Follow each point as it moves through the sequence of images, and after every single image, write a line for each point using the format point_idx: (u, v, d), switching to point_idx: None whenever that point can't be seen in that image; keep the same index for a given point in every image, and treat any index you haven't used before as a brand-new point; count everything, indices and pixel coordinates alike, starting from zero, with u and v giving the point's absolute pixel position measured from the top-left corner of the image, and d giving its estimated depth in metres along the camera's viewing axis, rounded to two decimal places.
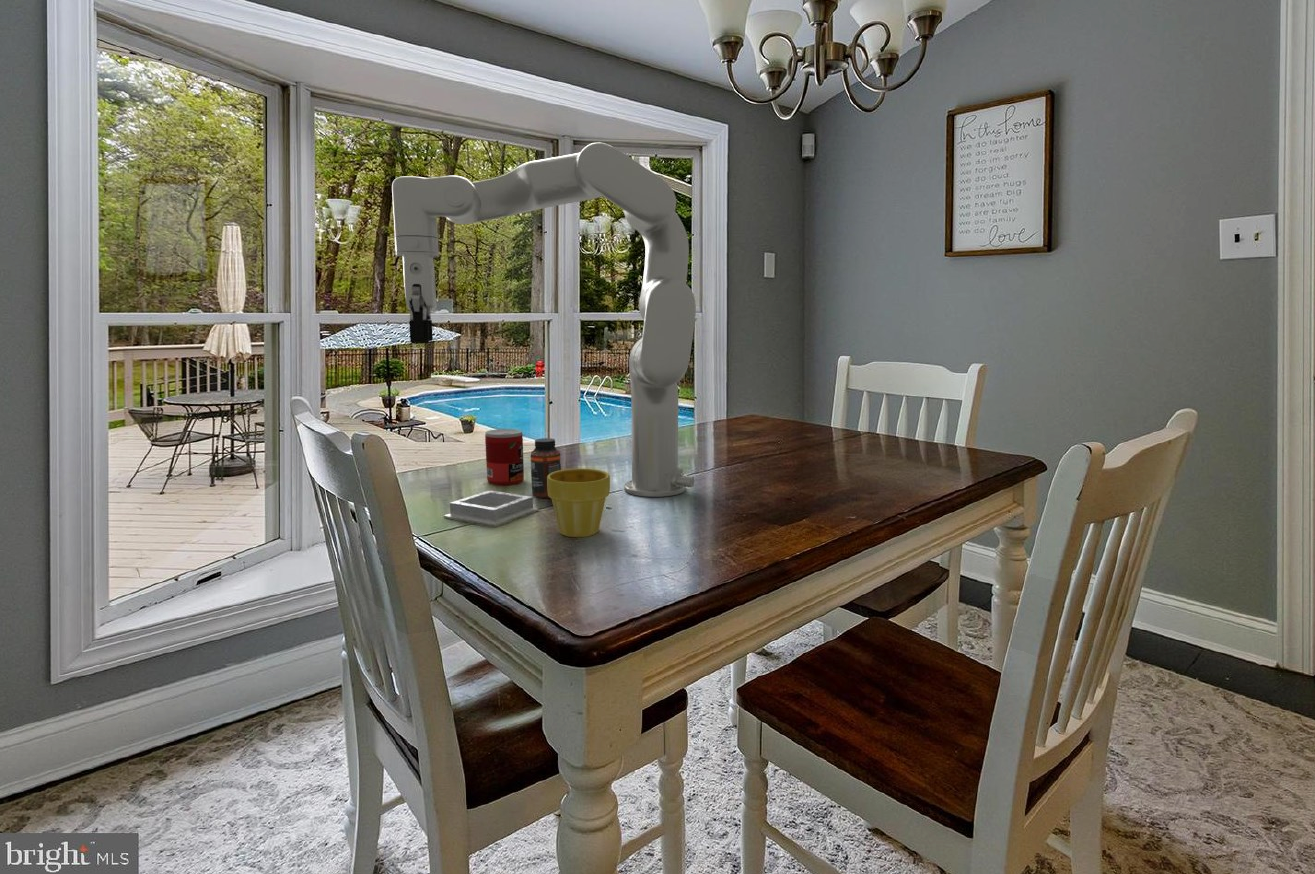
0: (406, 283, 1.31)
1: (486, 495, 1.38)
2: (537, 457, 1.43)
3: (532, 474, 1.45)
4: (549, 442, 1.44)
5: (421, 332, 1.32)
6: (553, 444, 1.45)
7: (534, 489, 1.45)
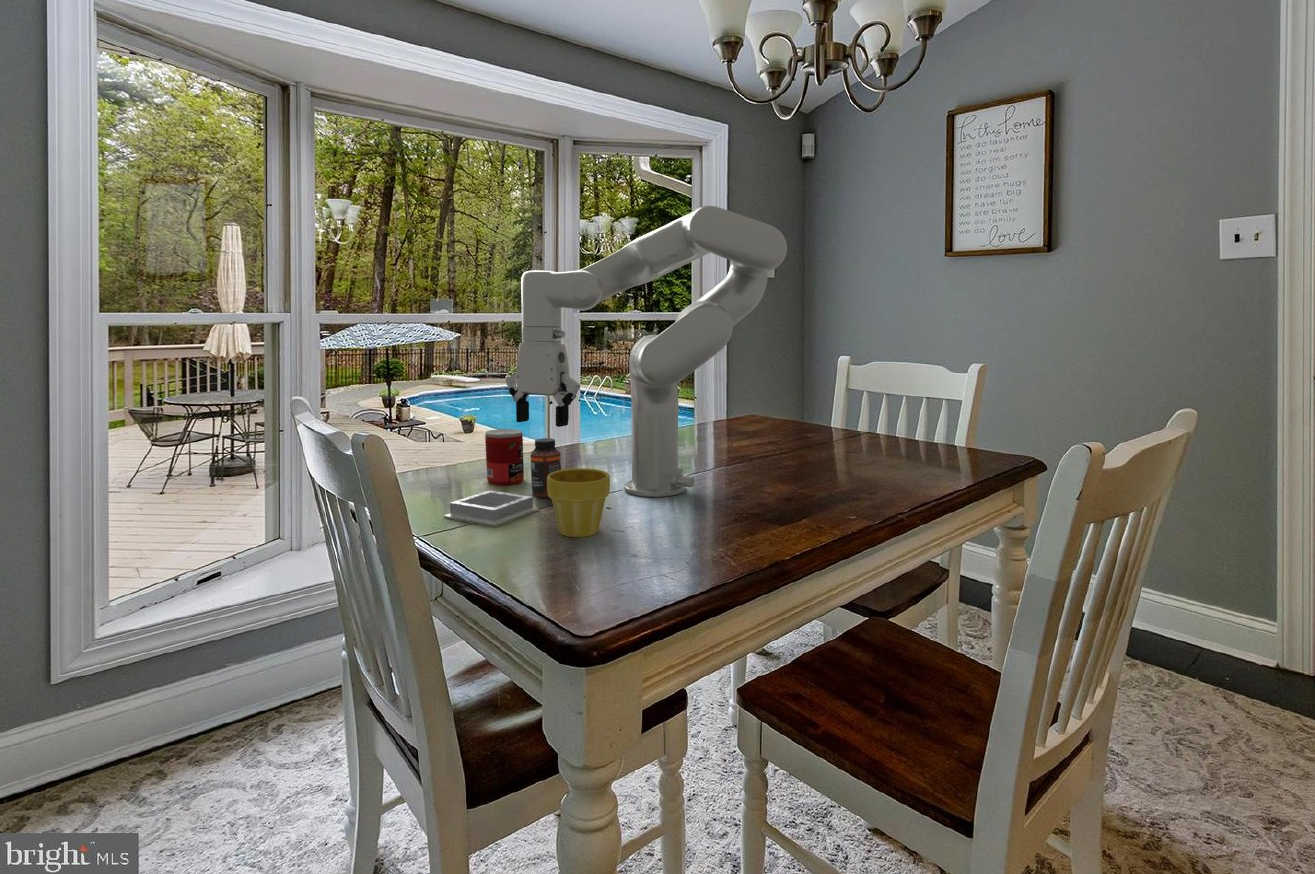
0: (556, 371, 1.39)
1: (486, 495, 1.38)
2: (537, 457, 1.43)
3: (532, 474, 1.45)
4: (549, 442, 1.44)
5: (567, 416, 1.42)
6: (553, 444, 1.45)
7: (534, 489, 1.45)
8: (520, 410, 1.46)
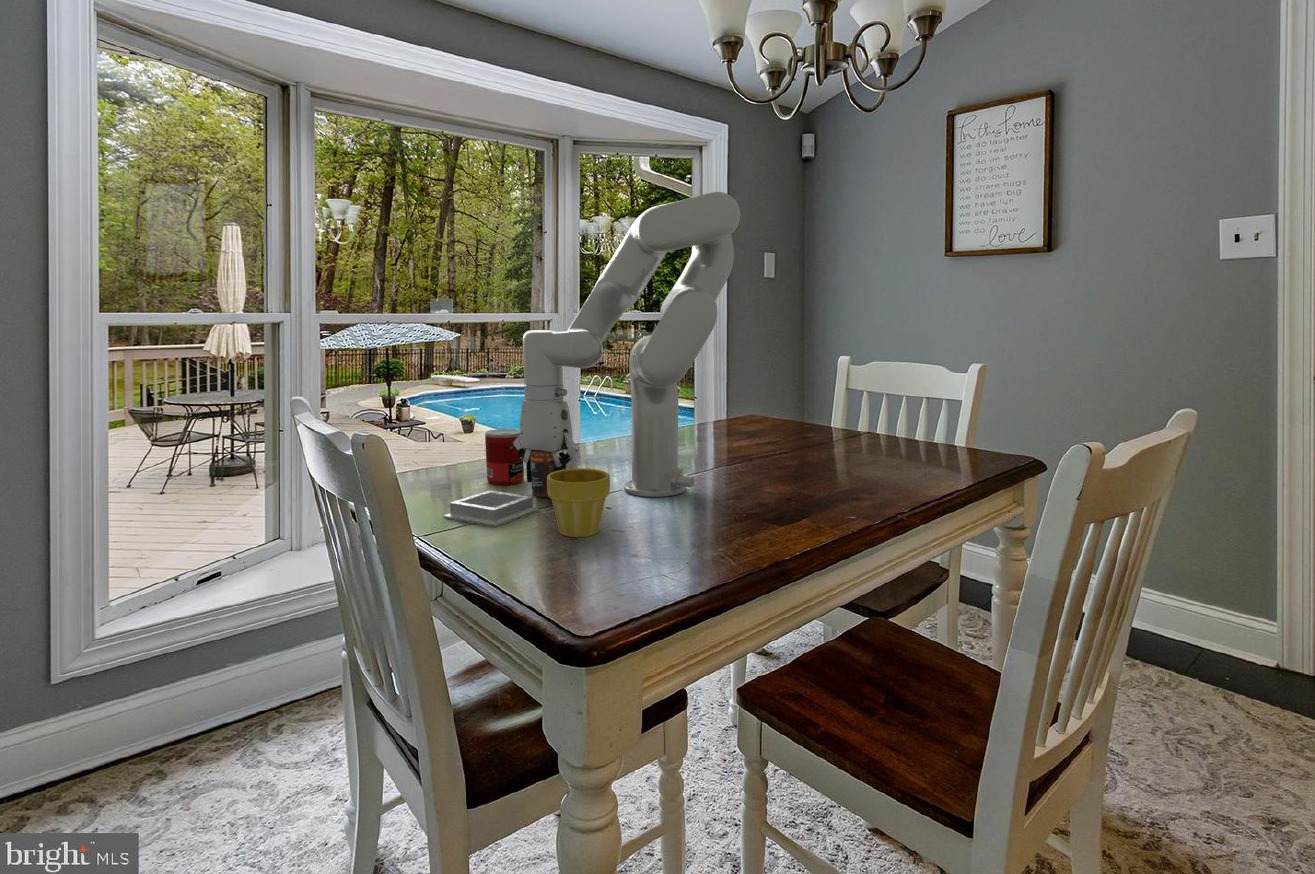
0: (559, 429, 1.41)
1: (486, 495, 1.38)
2: (537, 457, 1.43)
3: (532, 474, 1.45)
4: None
5: None
6: None
7: (534, 489, 1.45)
8: (530, 471, 1.47)
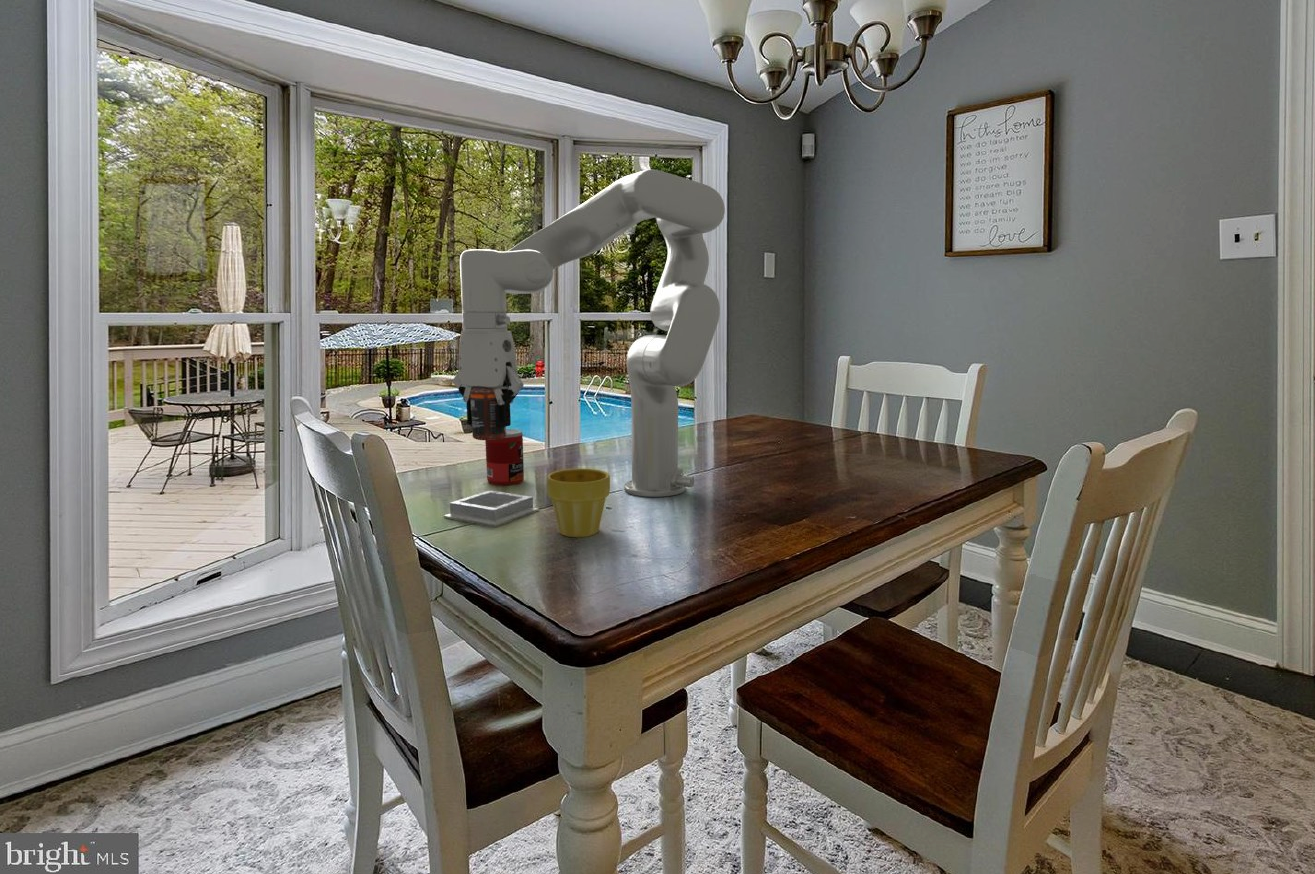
0: (500, 361, 1.25)
1: (486, 495, 1.38)
2: (477, 393, 1.27)
3: (472, 413, 1.29)
4: None
5: (509, 415, 1.29)
6: None
7: (474, 430, 1.29)
8: None
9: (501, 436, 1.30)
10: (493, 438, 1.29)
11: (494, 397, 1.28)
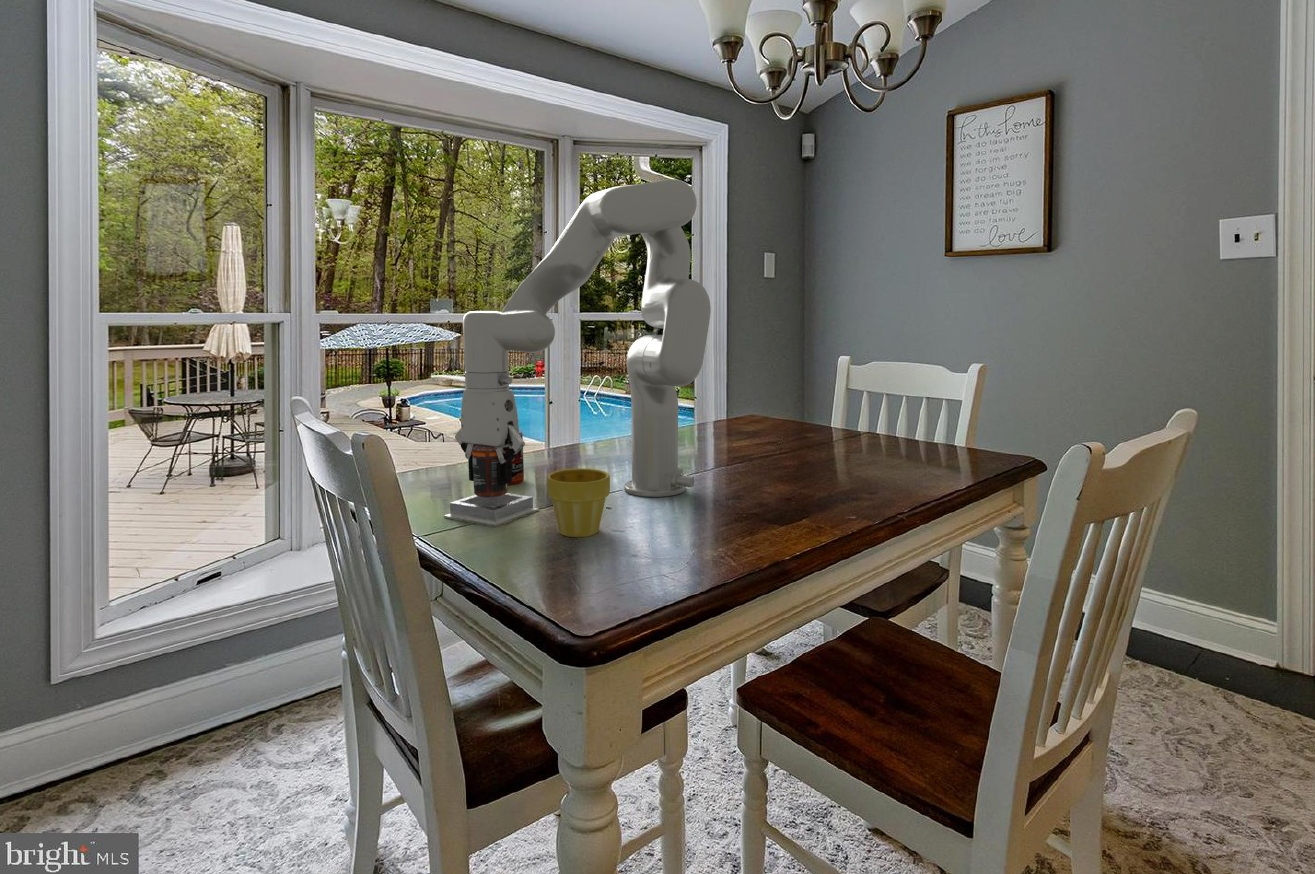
0: (502, 421, 1.27)
1: None
2: (479, 452, 1.29)
3: (474, 471, 1.31)
4: None
5: (510, 473, 1.31)
6: None
7: (476, 487, 1.31)
8: None
9: (502, 493, 1.31)
10: (494, 495, 1.30)
11: (496, 455, 1.29)
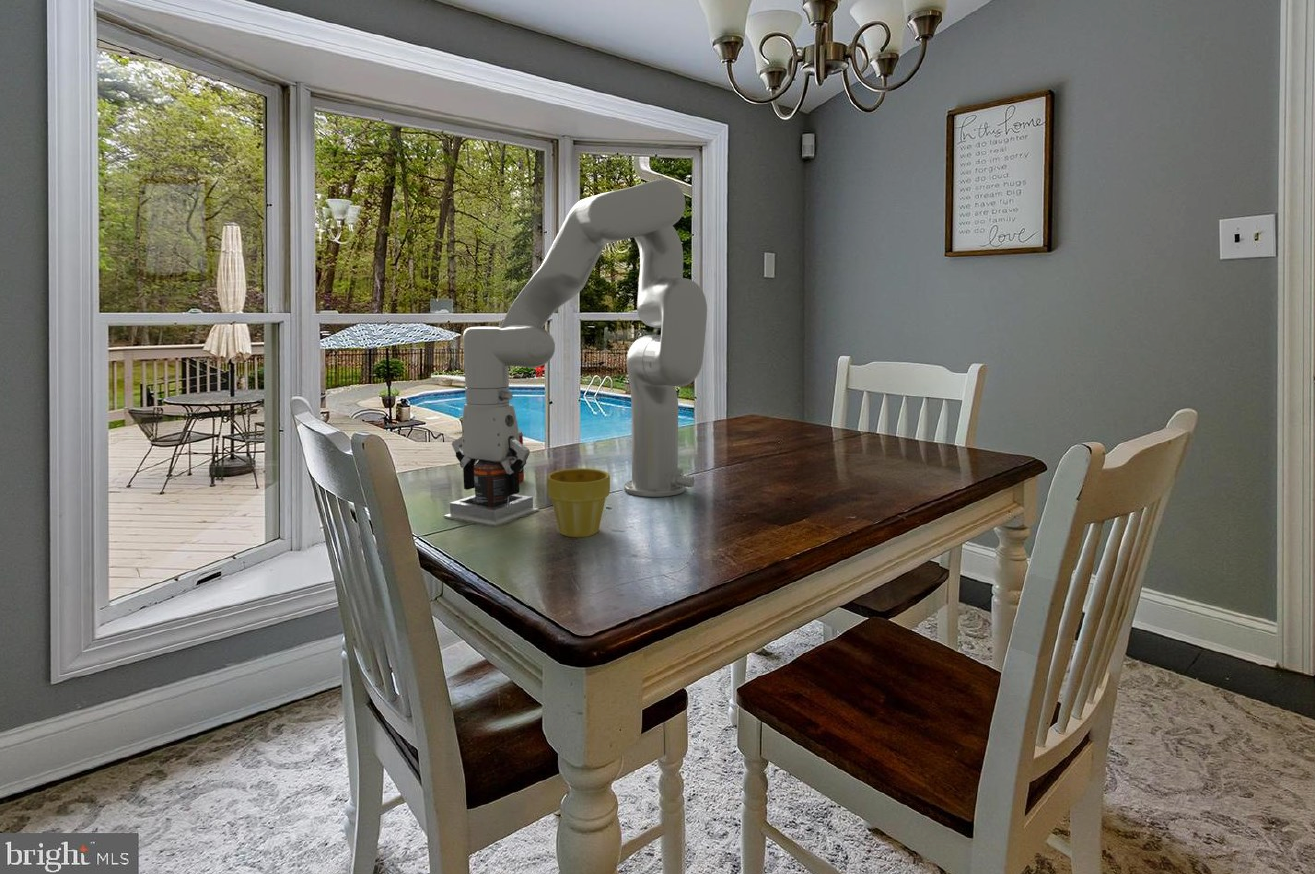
0: (503, 437, 1.27)
1: None
2: (480, 470, 1.30)
3: (475, 489, 1.31)
4: None
5: (517, 483, 1.30)
6: None
7: None
8: (468, 477, 1.34)
9: None
10: None
11: (497, 473, 1.30)
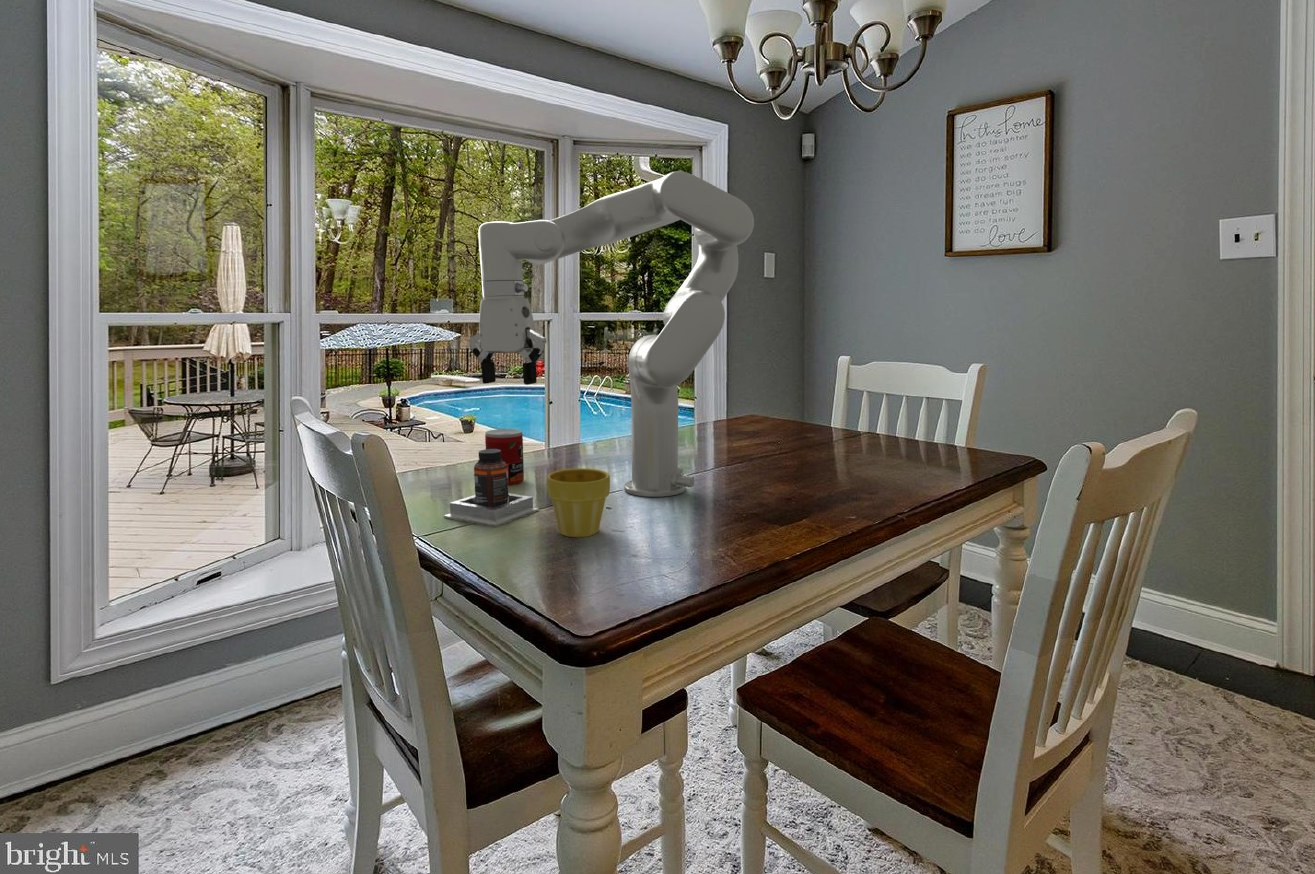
0: (520, 326, 1.34)
1: None
2: (480, 470, 1.30)
3: (475, 489, 1.31)
4: (494, 453, 1.30)
5: (535, 373, 1.37)
6: (499, 456, 1.31)
7: None
8: (486, 371, 1.40)
9: None
10: None
11: (497, 473, 1.30)
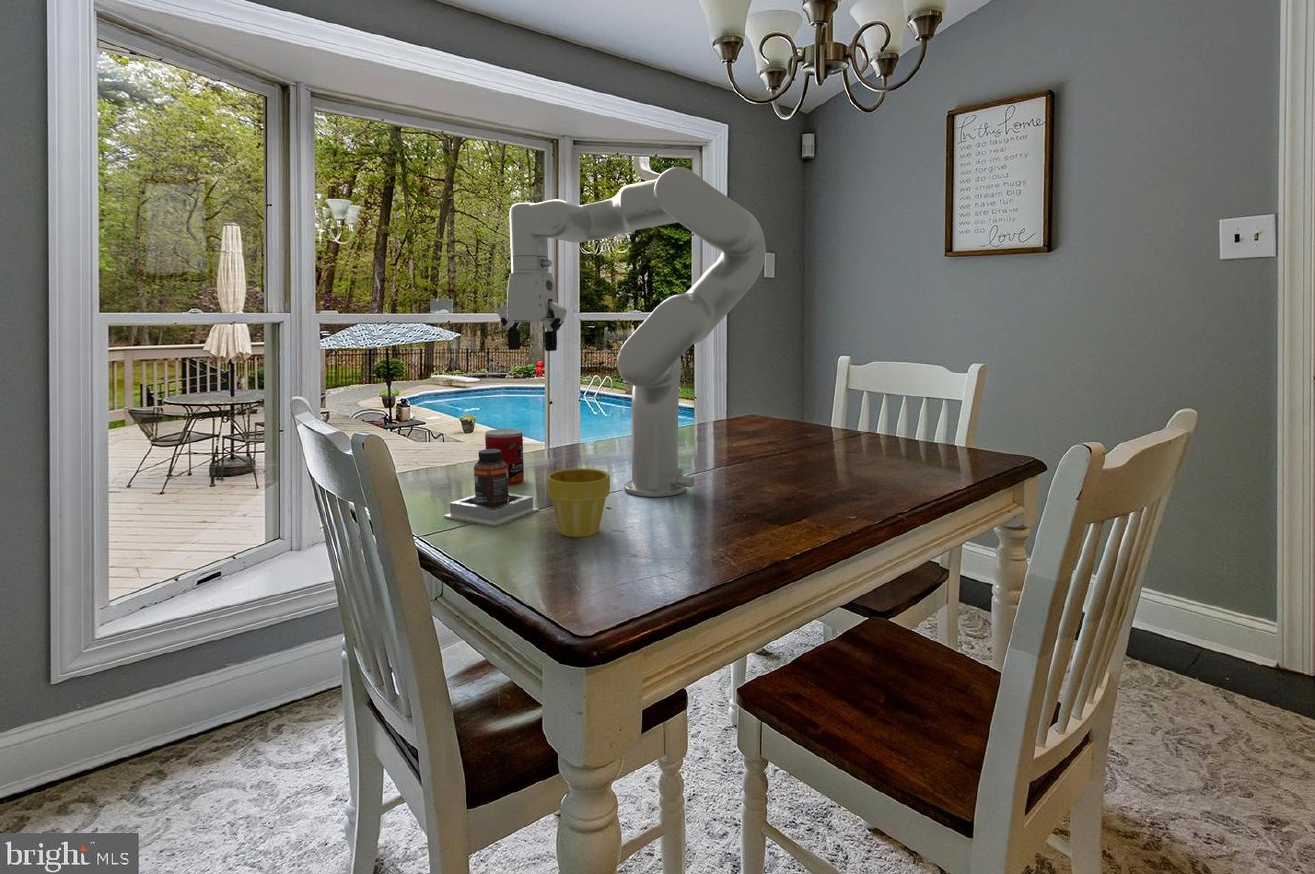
0: (544, 298, 1.48)
1: None
2: (480, 470, 1.30)
3: (475, 489, 1.31)
4: (494, 453, 1.30)
5: (556, 341, 1.51)
6: (498, 456, 1.31)
7: None
8: (511, 338, 1.55)
9: None
10: None
11: (497, 473, 1.30)
